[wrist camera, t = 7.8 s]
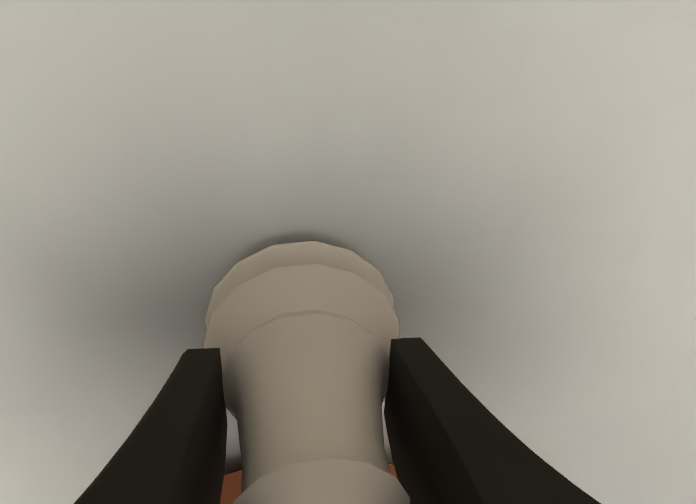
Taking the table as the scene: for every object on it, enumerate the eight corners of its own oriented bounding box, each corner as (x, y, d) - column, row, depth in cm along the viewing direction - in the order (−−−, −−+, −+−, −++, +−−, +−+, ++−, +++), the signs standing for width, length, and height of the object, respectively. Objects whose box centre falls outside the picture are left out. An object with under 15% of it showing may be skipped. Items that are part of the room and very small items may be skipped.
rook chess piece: (426, 277, 13) (613, 651, 6) (334, 402, 14) (394, 815, 7) (259, 198, 11) (240, 576, 4) (176, 348, 13) (67, 802, 6)
